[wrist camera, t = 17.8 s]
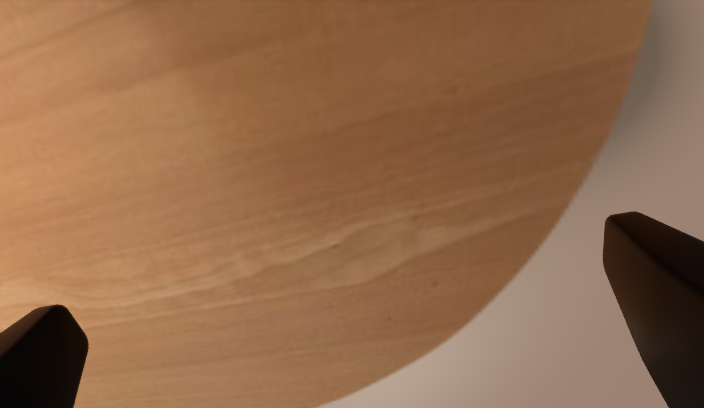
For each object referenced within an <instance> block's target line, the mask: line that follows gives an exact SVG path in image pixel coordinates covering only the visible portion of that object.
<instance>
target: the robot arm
mask: <svg viewBox="0 0 704 408" xmlns="http://www.w3.org/2000/svg"><path fill="white" fill-rule="evenodd" d="M603 264H604V269H605V272H606V275H607V277H608V280H609V282H610V284H611V287H612V289H613V292H614V294H615V296H616V299H617V301H618V304H619V306H620V308H621V311H622V313H623V316H624V318H625V320H626V323H627V325H628V327H629V330H630V332H631V335H632V337H633V340H634V341H635V344H636V347H637V349H638V351H639V353H640V356H641V358H642V360H643V362H644V364H645V366H646V367H647V369H648V371H649V373H650V375H651V377H652V379H653V380H654V382H655V384H656V386H657V387H658V389H659V391H660V393H661V394H662V396H663V398H664V400H665V401H666V403H667V405H668V407H669V408H704V241H701V240H699V239H697V238H695V237H693V236H690V235H688V234H686V233H684V232H681V231H679V230H677V229H675V228H672V227H670V226H668V225H665V224H664V223H661V222H659V221H657V220H655V219H653V218H650V217H648V216H646V215H644V214H642V213H639V212H627V213H621V214H614V215H610V216H609V217H608V218H607V219H606V222H605V231H604V247H603ZM87 353H88V339H87V336H86V335H85V333H84V332H83V330H82V329H81V327H80V326H79V324H78V323H77V322H76V320H75V319H74V317H73V316H72V314H71V313H70V312H69V310H68V309H67V308H66V307H64V306H63V305H51V306H44V307H39V308H37V309H35V310H33V311H31V312H30V313H29V314H27V315H26V316H24V317H23V318H21V319H20V320H19V321H17V322H16V323H14V324H13V325H11V326H10V327H8V328H7V329H6V330H4V331H3V332H1V333H0V408H73V407H74V403H75V399H76V395H77V391H78V387H79V384H80V380H81V376H82V372H83V368H84V364H85V361H86V357H87Z"/></svg>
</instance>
